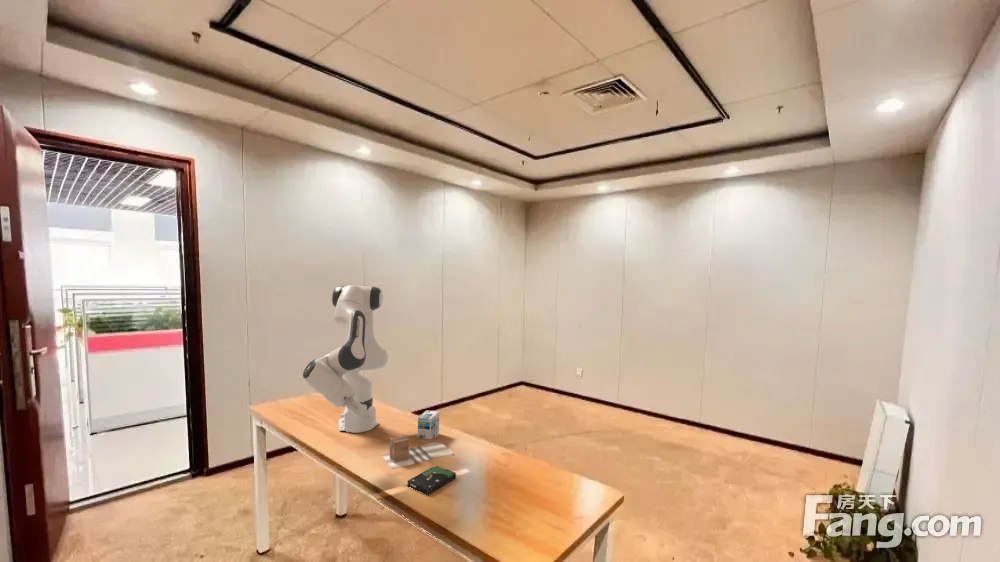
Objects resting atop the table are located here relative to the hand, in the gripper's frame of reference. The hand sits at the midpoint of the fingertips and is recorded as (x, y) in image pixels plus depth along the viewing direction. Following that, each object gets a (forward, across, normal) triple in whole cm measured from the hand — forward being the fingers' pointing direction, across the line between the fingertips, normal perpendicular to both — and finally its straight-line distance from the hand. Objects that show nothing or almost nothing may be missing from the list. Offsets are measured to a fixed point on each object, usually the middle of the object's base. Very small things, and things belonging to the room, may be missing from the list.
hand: (368, 416), depth 153 cm
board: (+29, +1, 0) cm, 29 cm away
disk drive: (+28, -20, +3) cm, 35 cm away
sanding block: (+22, +1, +5) cm, 23 cm away
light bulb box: (+38, +18, -8) cm, 42 cm away
